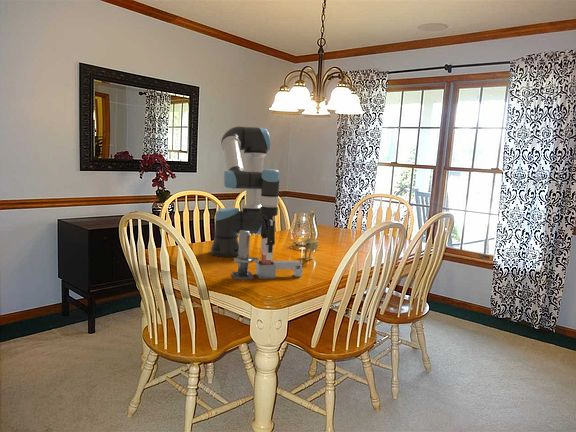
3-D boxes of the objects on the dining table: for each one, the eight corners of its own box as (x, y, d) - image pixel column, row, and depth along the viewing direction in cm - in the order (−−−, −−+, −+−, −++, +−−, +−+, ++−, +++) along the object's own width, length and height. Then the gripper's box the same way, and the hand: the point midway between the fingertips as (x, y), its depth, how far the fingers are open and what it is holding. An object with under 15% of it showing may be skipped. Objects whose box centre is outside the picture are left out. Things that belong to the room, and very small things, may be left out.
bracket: (255, 273, 199) (256, 259, 198) (298, 273, 204) (299, 259, 202) (258, 278, 192) (259, 264, 191) (303, 278, 197) (304, 263, 196)
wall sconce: (302, 255, 236) (305, 208, 232) (320, 258, 233) (323, 210, 229) (295, 262, 222) (298, 212, 218) (313, 264, 220) (317, 214, 216)
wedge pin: (260, 275, 197) (261, 252, 196) (268, 275, 198) (269, 252, 197) (262, 277, 194) (263, 255, 192) (270, 277, 195) (271, 255, 193)
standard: (232, 274, 196) (233, 229, 193) (255, 273, 199) (257, 229, 196) (234, 279, 189) (236, 232, 186) (258, 279, 191) (261, 233, 188)
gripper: (284, 210, 181) (281, 263, 184) (272, 202, 203) (269, 249, 207) (265, 210, 179) (263, 263, 183) (255, 201, 201) (253, 249, 205)
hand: (266, 256), depth 195 cm, fingers open, 11 cm apart
